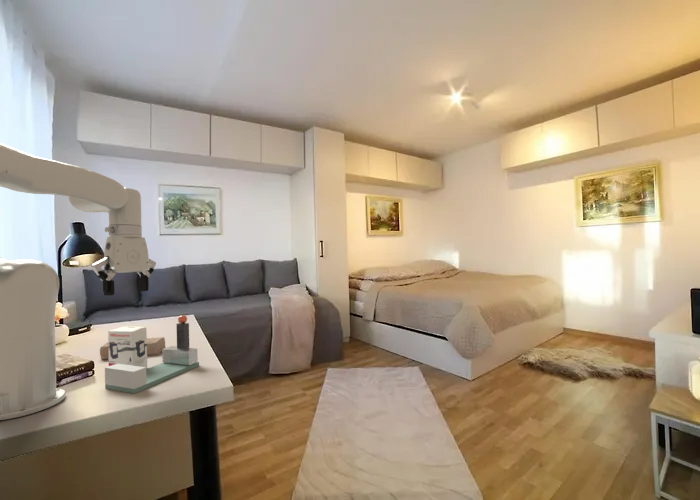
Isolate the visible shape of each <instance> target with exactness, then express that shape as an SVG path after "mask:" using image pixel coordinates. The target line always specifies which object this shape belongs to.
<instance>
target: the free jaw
mask: <svg viewBox="0 0 700 500" xmlns="http://www.w3.org/2000/svg"><path fill="white" fill-rule="evenodd" d="M187 321H188V317H187V315H184V314H182V315H179V317H178V318H177V322H178V323H176V324H175V325H176V346H175V345H171V346H167V347H165V348H164V349H162V351H161V354H162V355H161V356H162V363H164V362H165V363H173V364H181V365H191V364H194V363H196V362H199V361H198V359H199V357H198V348H195V347H190V324H189V322H187Z"/></svg>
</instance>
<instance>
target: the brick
mask: <svg viewBox="0 0 700 500" xmlns="http://www.w3.org/2000/svg"><path fill="white" fill-rule="evenodd" d="M164 348H166V339H165V337H164V336H160V337H151V338H147V356H155V355H159V354H161V353H162V349H164ZM99 356H100V360H109V347H108V342H106V343H105V344H103V346H100V349H99Z"/></svg>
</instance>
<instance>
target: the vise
mask: <svg viewBox="0 0 700 500" xmlns="http://www.w3.org/2000/svg"><path fill="white" fill-rule="evenodd" d="M199 366H200V362H199V361H198V362H196V363H194V364H191V365H181V364H173V363H165V362H161V363H158V364H156V365H153V366H151V367H147V368H146V367H140V366H132V365H125V364H115V365H112V366H109V365H108V366H106V367H104V383H105V385H104V387H105V389H108V390H112V391H116V392H117V391H118V392H124V393H130V394H136V393H139V392H141V391H143V390H147V388H150V387H152V386H155V385H157V384H160V383H162V382H165V381H166V380H168V379H171V378H173V377H175V376H178V375H181V374H183V373H185V372H187V371H190V370H192V369H194V368H197V367H199Z"/></svg>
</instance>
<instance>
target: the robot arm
mask: <svg viewBox="0 0 700 500" xmlns="http://www.w3.org/2000/svg"><path fill="white" fill-rule="evenodd" d="M1 187H2V188H4V189H9V190H11V191H14V192H20V193H25V194H34V195H55V196H63V197H64V196H65V197H68V200H69V202H70V204H71V205H72V207H74V208H75V209H77V210H79V211H81V212H84V213H108V226H107V227H104V232H105V233H108V236H107V238H106V239H105V244H104V249H103V250H104V252H103V253H104V254H103V258H102V259H100V260H97V261H96V262H94V263H92V264H91V266H90V267H91V268H92V271H94V273H95V274H94V275H95V276H97V278H99V279H100V281H102V292H103V295H104V296H114V295H115V280H113V278H114V277H115V276H116V274H117V273H119V274H123V273H124V274H125V273H136V274H138V275H139V277H138V291H140V292H147V291H149V284H150V283H149V278H150V277H151V275H152V274H153V272H154V271H155V270H154V269H155V267H156V265H157V262H156V261H154V260H152V259H151V258H149V251H148V246H147V241H146V238H145V237H143V235H142V234H143V233H142V227H143V226H142V196H141V193H140V191H138V190H137V189H133V188H130V187H125V186H123V184H121V183H120V182H118V181H116V180H115V179H113V178H110V177H109V176H106V175H103V174H101V173H99V172H96V171H93V170H90V169H87V168H84V167H81V166H78V165H73V164H68V163H65V162H61V161H57V160H53V159H50V158H44V157H39V156H35V155H32V154H29V153H27V152H25V151H22V150H19V149H17V148H14V147H12V146H9V145H6V144H4V143H1V142H0V188H1ZM102 267H103V268H104V269H103V268H102ZM102 269H103V270H102ZM59 291H60V278H59V275H58V273H57V271H56V270H55V269H54V267H52V266H51V265H49V264H48V263H45V262H43V261H39V260H35V259H12V260H8V259H5V258H3V257H1V256H0V421H4V420H11V419H15V418H21V417H24V416H27V415H32V414H36V413H38V412H41V411H44V410H46V409H49V408H51V407H53V406H55V405H57V404H59V403H60V402H62V401H63V400H64V399H65V398H66V390H64V389H63V388H57V360H56V359H57V354H56V350H57V349H56V347H57V346H56V343H57V342H56V307H57V301H58V295H59Z"/></svg>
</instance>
